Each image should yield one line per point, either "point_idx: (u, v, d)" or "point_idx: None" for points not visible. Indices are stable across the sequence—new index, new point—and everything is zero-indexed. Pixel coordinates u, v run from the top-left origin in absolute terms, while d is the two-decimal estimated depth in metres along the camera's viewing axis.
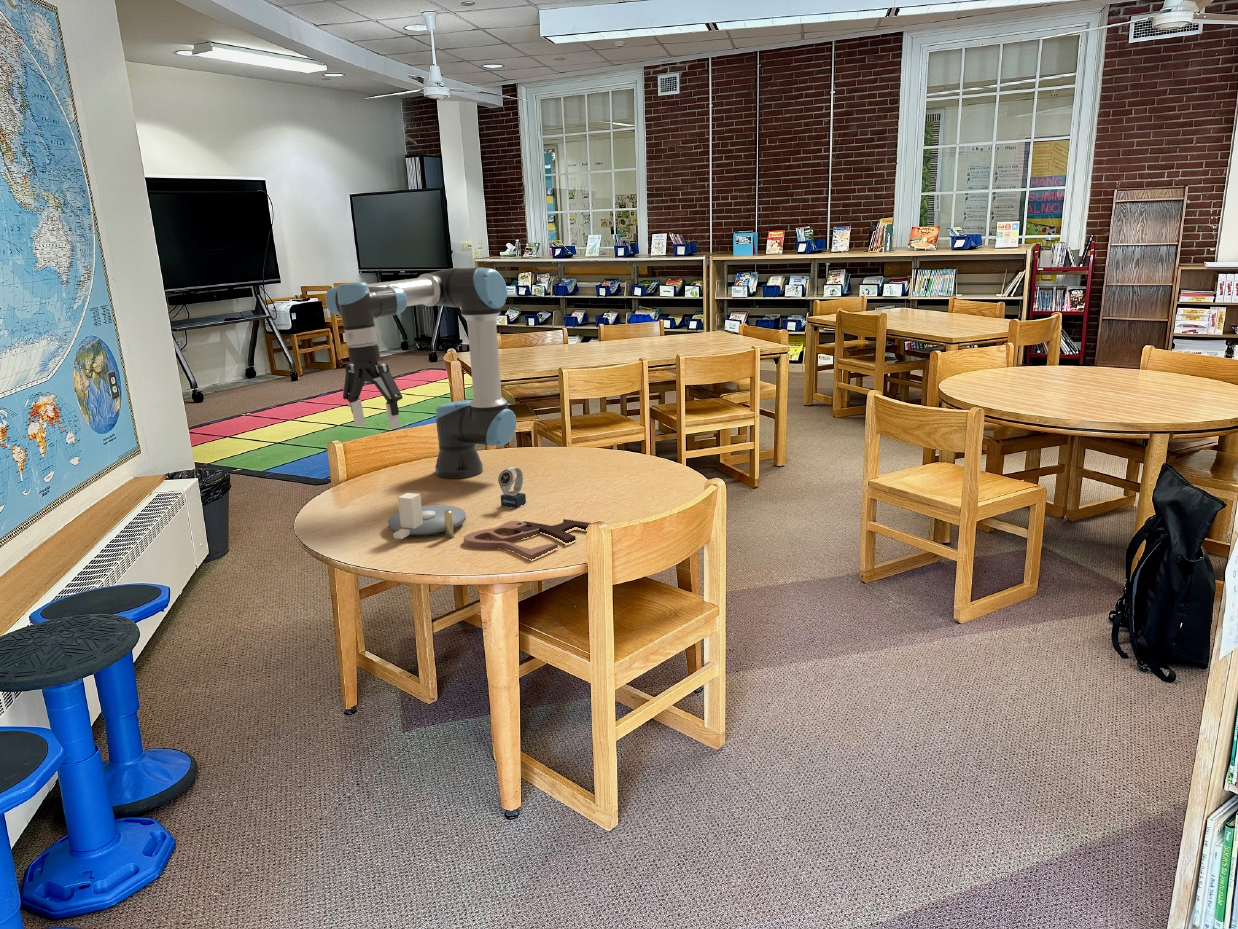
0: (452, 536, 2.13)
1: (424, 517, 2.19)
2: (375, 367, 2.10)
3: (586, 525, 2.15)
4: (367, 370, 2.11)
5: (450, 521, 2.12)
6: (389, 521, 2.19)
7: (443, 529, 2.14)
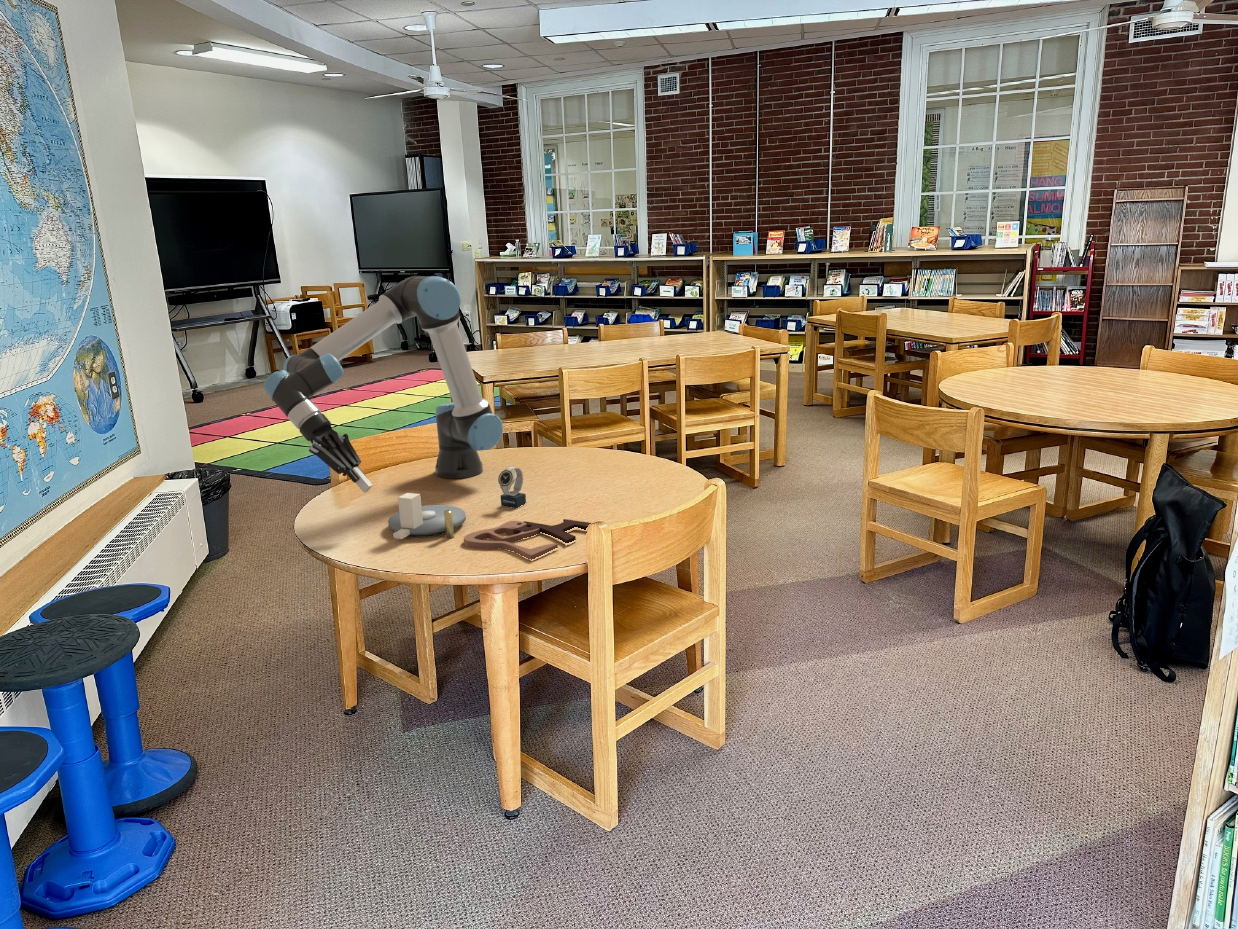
0: (452, 536, 2.13)
1: (424, 517, 2.19)
2: None
3: (586, 525, 2.15)
4: None
5: (450, 521, 2.12)
6: (389, 521, 2.19)
7: (443, 529, 2.14)
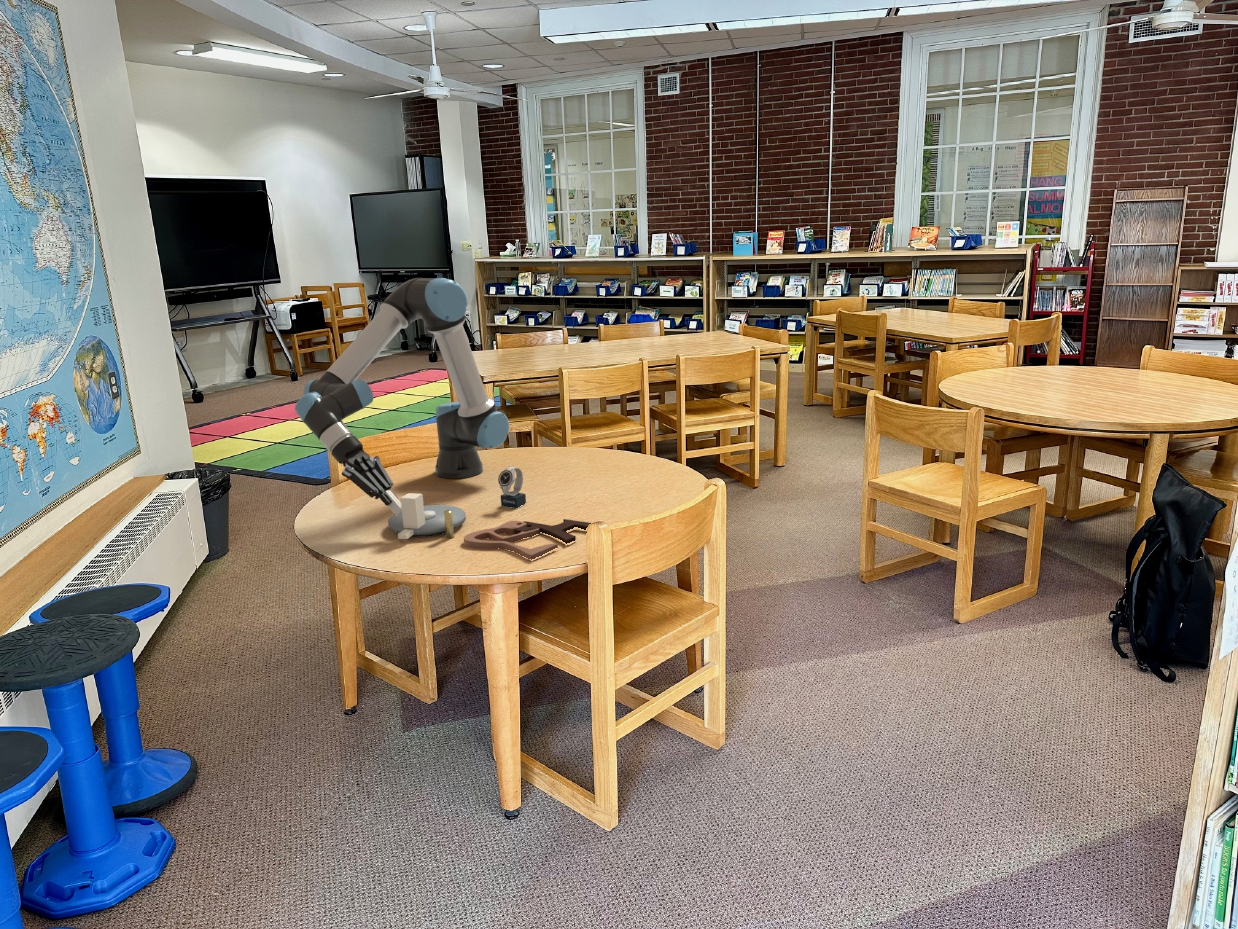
0: (452, 536, 2.13)
1: (425, 517, 2.19)
2: (346, 467, 2.13)
3: (586, 525, 2.15)
4: None
5: (450, 521, 2.12)
6: (389, 522, 2.18)
7: None
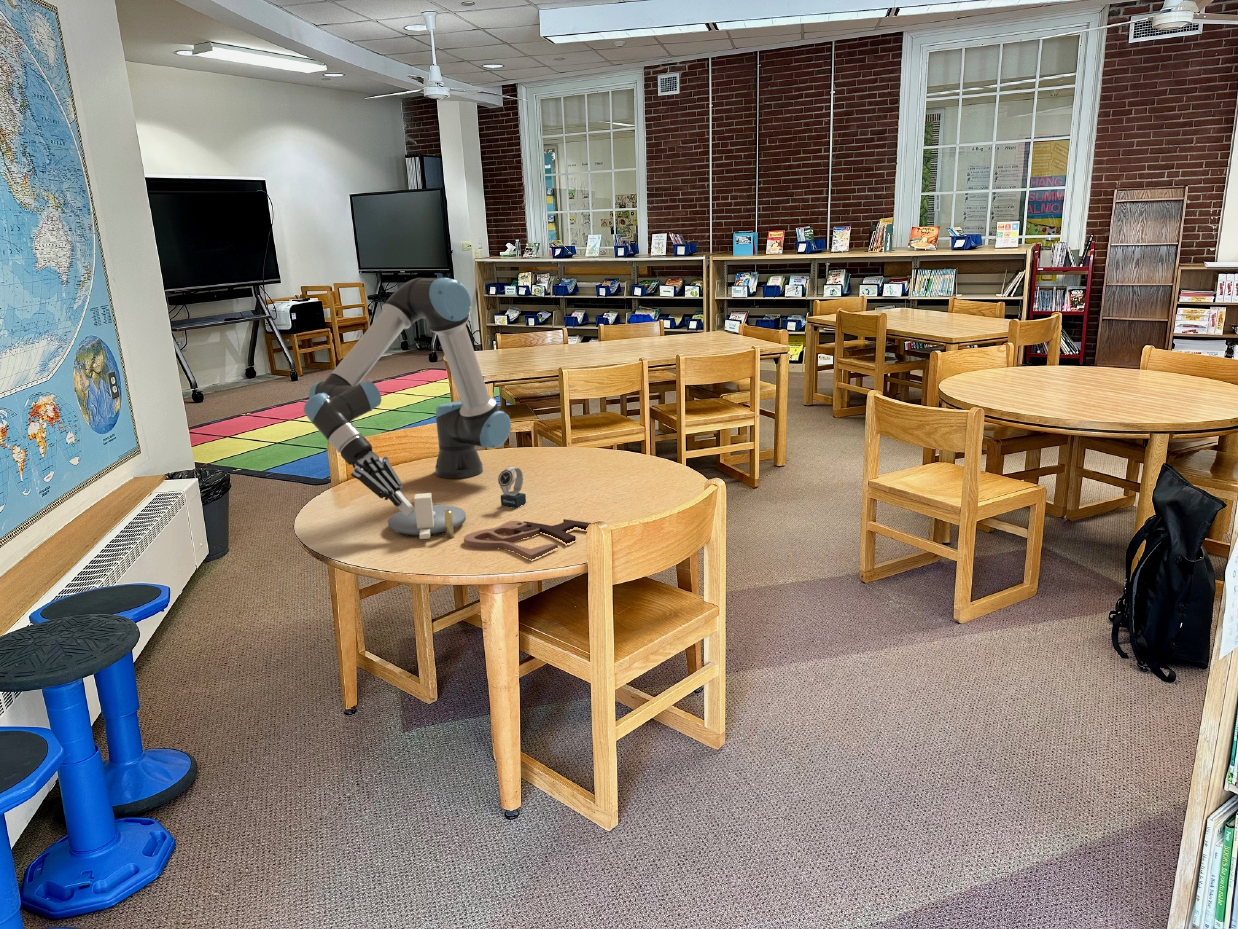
0: (452, 536, 2.13)
1: None
2: None
3: (586, 525, 2.15)
4: None
5: (450, 521, 2.12)
6: (395, 526, 2.15)
7: (458, 523, 2.18)
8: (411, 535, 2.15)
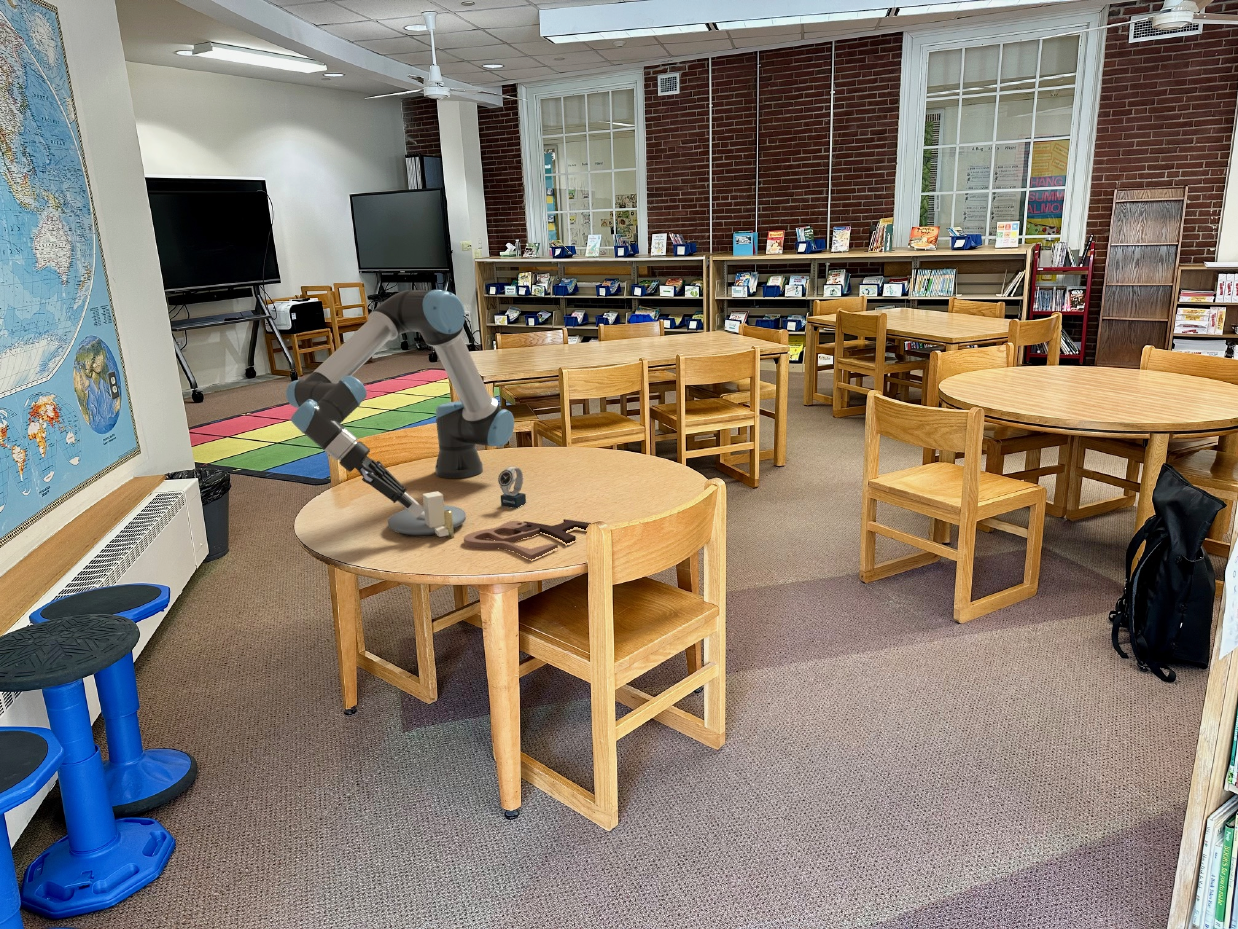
0: (452, 536, 2.13)
1: None
2: (363, 474, 2.06)
3: (586, 525, 2.15)
4: (363, 475, 2.08)
5: (450, 521, 2.12)
6: (405, 528, 2.13)
7: (464, 519, 2.21)
8: (411, 535, 2.15)
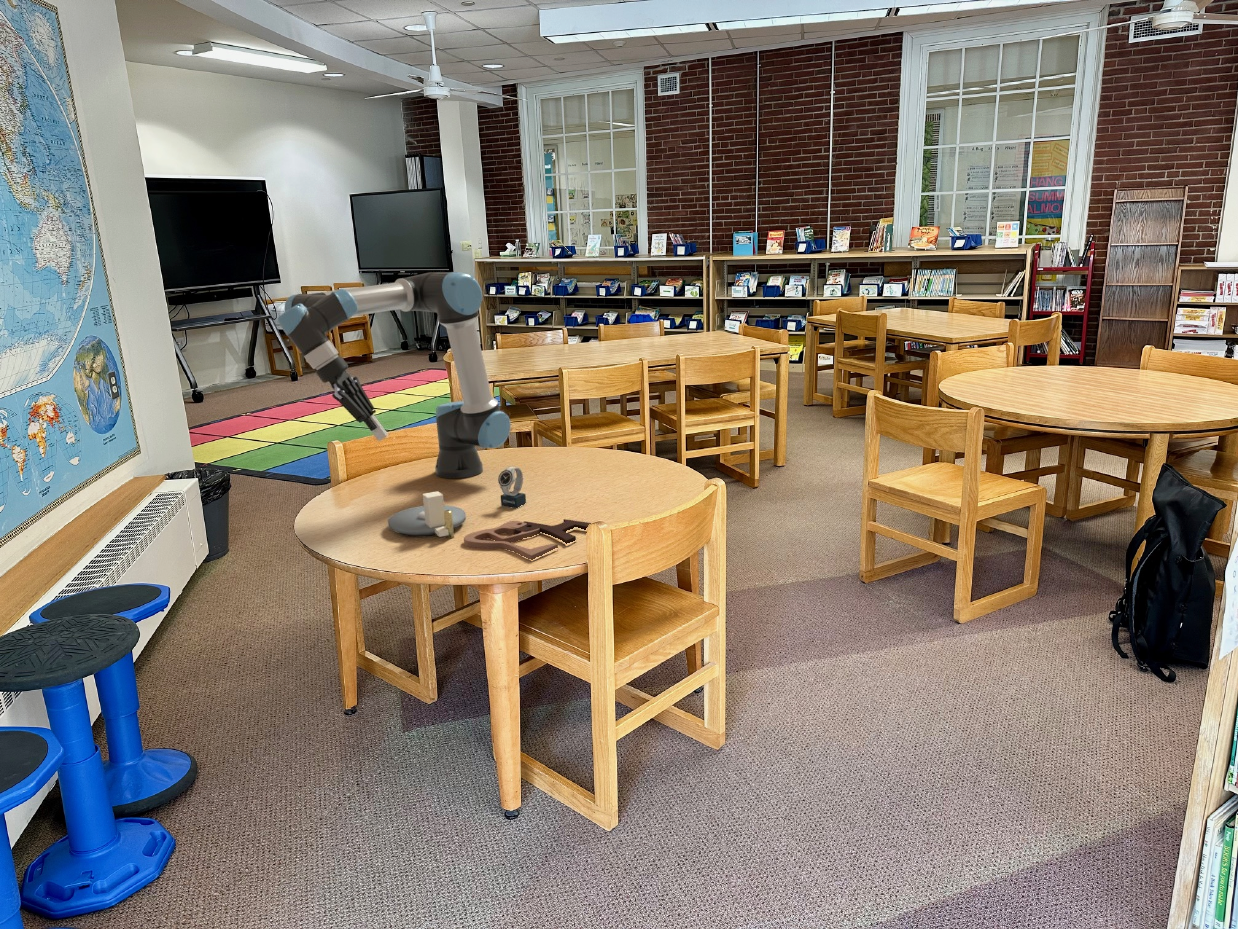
0: (452, 536, 2.13)
1: None
2: (335, 389, 2.10)
3: (586, 525, 2.15)
4: None
5: (450, 521, 2.12)
6: (405, 528, 2.13)
7: (464, 519, 2.21)
8: (411, 535, 2.15)
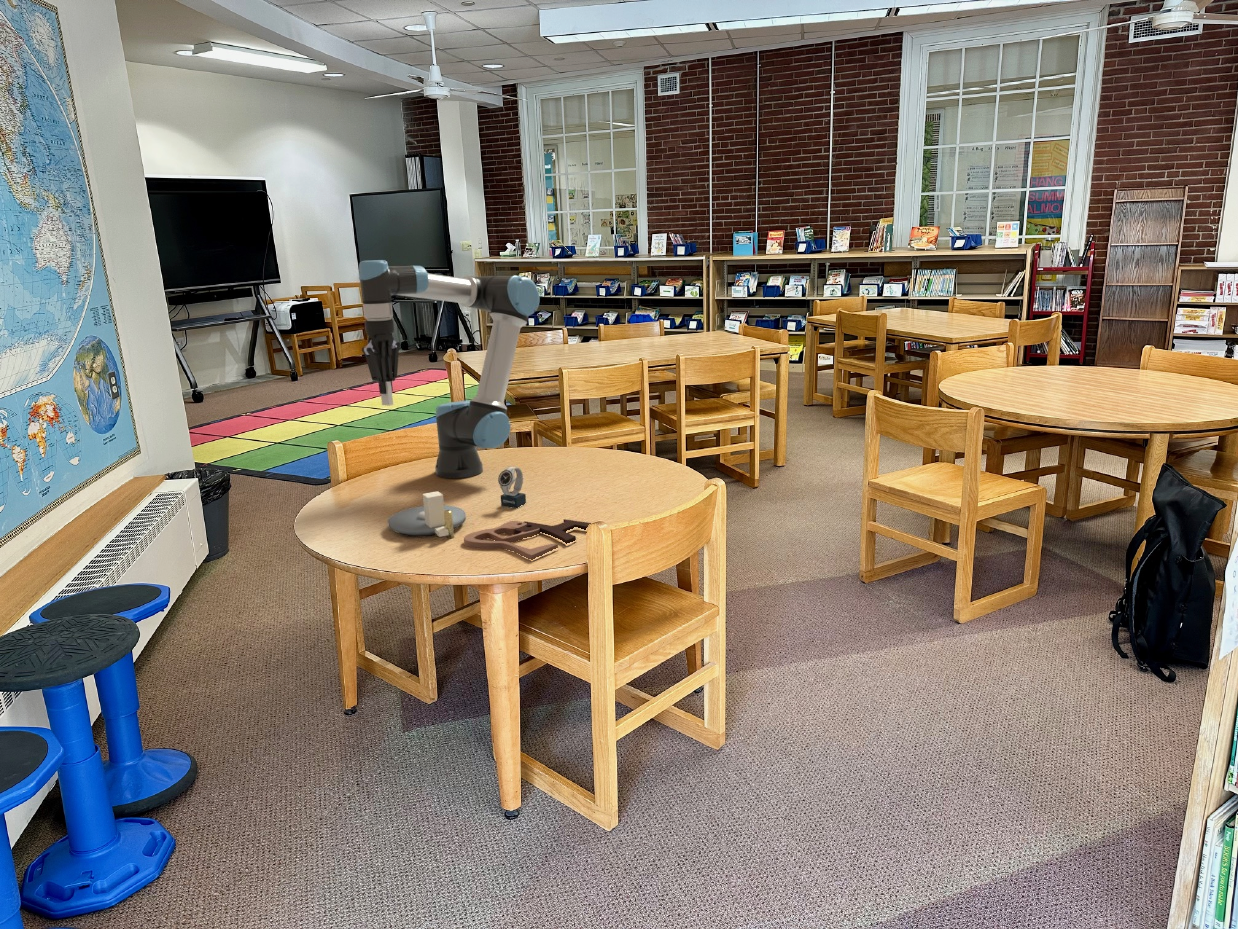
0: (452, 536, 2.13)
1: None
2: None
3: (586, 525, 2.15)
4: None
5: (450, 521, 2.12)
6: (405, 528, 2.13)
7: (464, 519, 2.21)
8: (411, 535, 2.15)
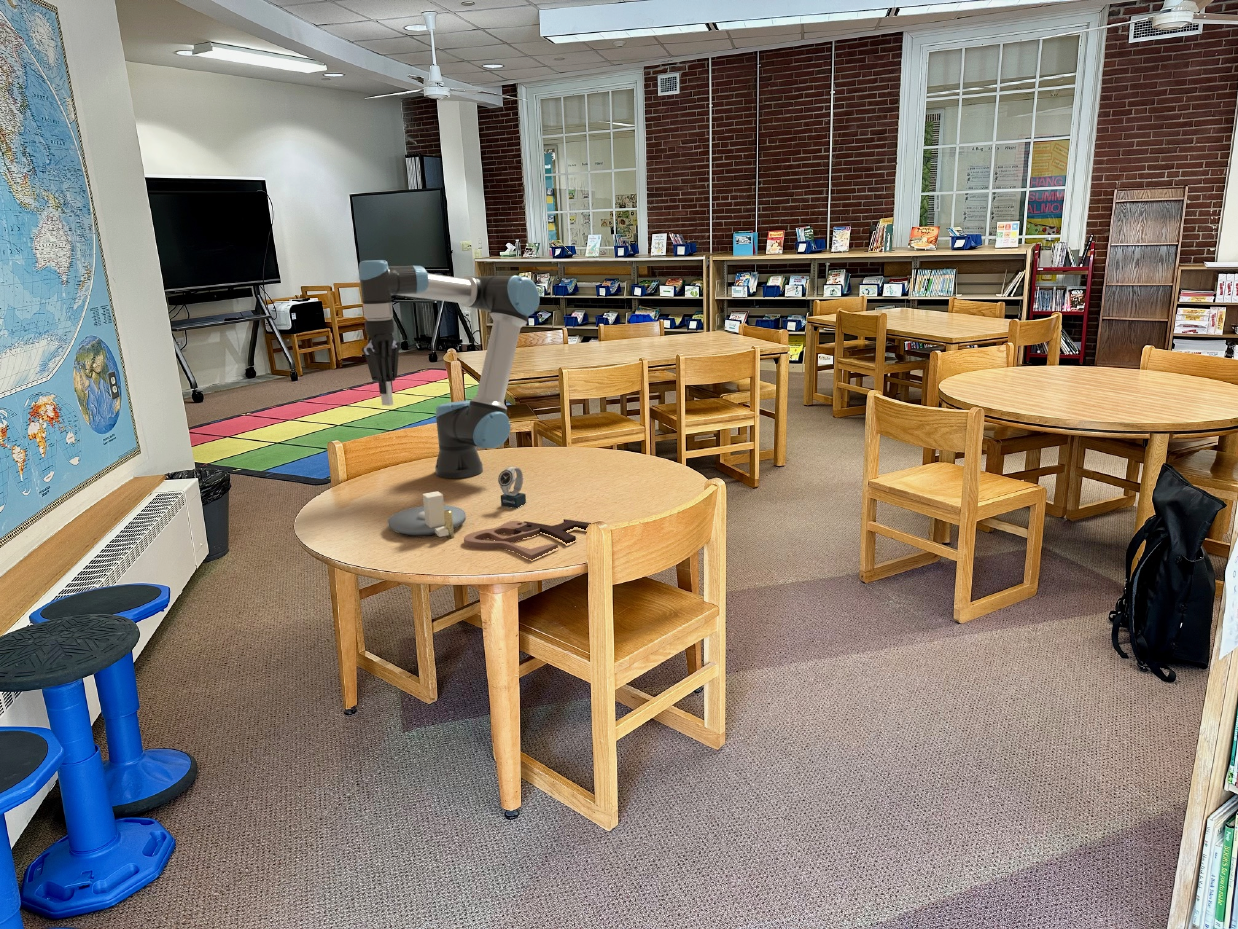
0: (452, 536, 2.13)
1: None
2: None
3: (586, 525, 2.15)
4: None
5: (450, 521, 2.12)
6: (405, 528, 2.13)
7: (464, 519, 2.21)
8: (411, 535, 2.15)
